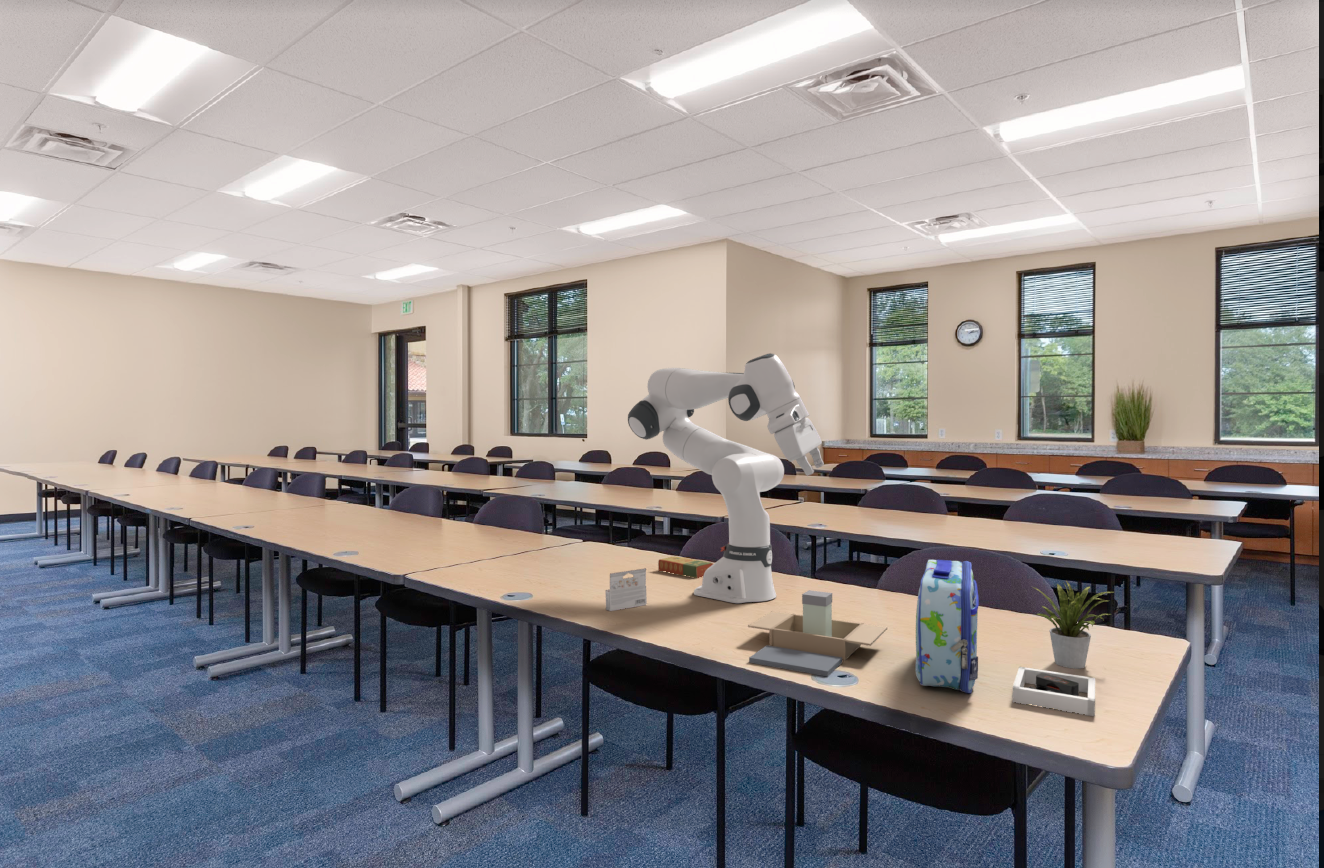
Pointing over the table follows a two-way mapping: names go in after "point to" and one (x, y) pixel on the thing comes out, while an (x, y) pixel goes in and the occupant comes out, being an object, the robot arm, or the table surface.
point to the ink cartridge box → (626, 590)
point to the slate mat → (796, 660)
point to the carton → (684, 566)
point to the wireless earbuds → (1056, 684)
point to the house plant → (1071, 627)
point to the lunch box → (947, 626)
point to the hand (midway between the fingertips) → (815, 470)
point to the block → (817, 613)
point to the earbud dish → (1052, 698)
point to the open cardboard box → (841, 644)
